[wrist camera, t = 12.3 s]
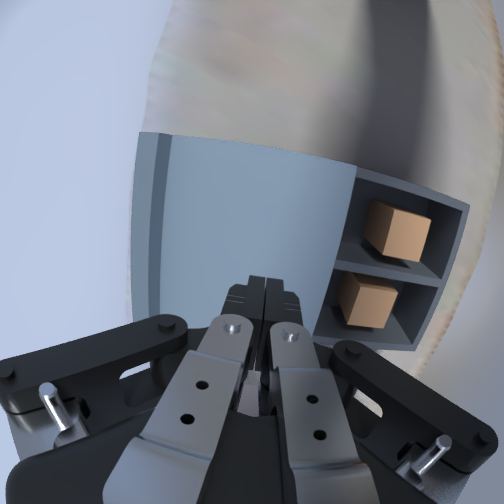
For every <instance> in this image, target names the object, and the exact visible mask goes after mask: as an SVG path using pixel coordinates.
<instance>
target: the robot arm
mask: <svg viewBox="0 0 504 504" xmlns="http://www.w3.org/2000/svg"><path fill="white" fill-rule="evenodd" d="M265 279H266V277H261V276H254V275H249V279H248V284H247V285H242V284H235V285H233V286H232V287H230V288H229V291H228V293H227V296H226V299H225V302H224V305H223V308H222V311H221V314H220V315H219V316H217V317H215V318H214V319H213V321H212V322H211V324H210V326H209V327H205V328H188V325H187V322H186V321H185V320H184V319H183V318H181V317H179V316H176V315H172V314H159V315H155V316H152V317H149V318H146V319H143V320H140V321H136V322H133V323H130V324H127V325H124V326H120V327H117V328H114V329H111V330H107V331H104V332H101V333H98V334H94V335H91V336H87V337H84V338H80V339H77V340H74V341H70V342H67V343H63V344H60V345H56V346H52V347H49V348H45V349H42V350H38V351H34V352H30V353H27V354H23V355H19V356H16V357H11V358H8V359H4V360H1V361H0V404H1V406H2V408H3V409H4V411H5V412H6V414H7V417H8V421H9V425H10V429H11V433H12V436H13V440H14V443H15V446H16V449H17V453H18V455H19V458H20V462H19V463H18V464H17V465H16V466H15V467H14V468H13V469H12V471H11V472H10V474H9V476H8V479H7V483H6V504H455V502H456V500H457V499H458V497H459V495H460V493H461V492H462V490H463V488H464V486H465V484H466V483H467V481H468V479H469V477H470V475H471V474H472V473H473V472H474V471H475V470H477V469H478V468H479V467H480V466H481V465H482V464H483V463H484V462H485V461H486V460H488V459H489V458H490V457H491V456H492V455H493V454H494V453H495V452H496V450H497V448H498V437H497V435H496V433H495V431H494V430H493V429H492V428H491V427H490V426H489V425H487V424H485V423H484V422H482V421H481V420H479V419H477V418H476V417H474V416H472V415H471V414H470V413H468V412H466V411H465V410H463V409H462V408H460V407H459V406H457V405H455V404H454V403H452V402H450V401H449V400H447V399H446V398H444V397H443V396H441V395H440V394H438V393H437V392H435V391H433V390H432V389H430V388H429V387H427V386H426V385H424V384H423V383H421V382H420V381H418V380H417V379H415V378H414V377H412V376H411V375H409V374H407V373H406V372H404V371H403V370H401V369H400V368H398V367H397V366H395V365H394V364H392V363H391V362H389V361H388V360H386V359H385V358H383V357H382V356H380V355H379V354H377V353H376V352H374V351H373V350H371V349H370V348H368V347H367V346H365V345H363V344H362V343H360V342H357V341H353V340H341V341H338V342H337V343H336V344H335V345H334V347H333V349H332V348H328V347H325V346H322V345H319V344H317V343H315V342H313V341H312V338H311V334H310V332H309V331H308V330H307V329H306V328H305V327H304V326H303V319H302V313H301V306H300V300H299V297H298V296H297V295H296V294H295V293H294V292H290V291H284V282H283V280H282V279H275V278H268V277H267V280H266V285H265ZM256 351H257V354H256ZM255 357H256V363H255V371H261V376H260V381H259V385H258V402H259V417H251V416H248V415H245V414H242V413H239V412H237V409H238V405H239V402H240V398H241V394H242V390H243V386H244V381H245V379H246V378H247V375H248V370H253V367H254V362H255ZM149 361H150V368H148V369H146V370H143V371H140V372H138V373H135V374H133V375H130V376H128V377H125V378H123V379H120V380H119V378H120V376H121V375H122V373H123V372H124V371H126V370H128V369H131V368H134V367H136V366H139V365H141V364H144V363H147V362H149ZM357 389H359V390H360V391H361V392H363V393H364V394H365V395H367V396H368V397H369V398H371V399H372V400H373V401H375V402H376V403H377V404H378V405H379V406H380V407H381V408H382V411H383V415H382V417H379V416H378V415H376V414H375V413H374V412H372V411H371V410H370V409H368V408H367V407H366V406H364V405H363V404H362V403H361V402H359V401H358V400H357V399H355V398H354V395H355V393H356V391H357ZM155 407H156V408H155Z"/></svg>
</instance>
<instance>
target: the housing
mask: <svg viewBox="0 0 504 504" xmlns="http://www.w3.org/2000/svg"><path fill="white" fill-rule="evenodd" d="M372 199H375V200H379V201H383V202H387V203H390V204H394V205H398V206H401V207H405V208H407V209H409V210H411V211H413V212H415V213H418V214H420V215H422V216H424V217H426V218H428V219H430V220H431V223H430V226H429V230H428V234H427V237H426V241H425V244H424V247H423V251H422V254H421V257H420V260H419V262H416V261H411V260H406V259H401V258H396V257H391V256H386V255H382V254H381V253H380V252H379V251H378V250H377V249H376V248H375V247H374V246H373V245H372V244H371V243H370V242H369V241H368V240H367V239H366V238H365V237H364V236H363V233H364V229H365V225H366V221H367V217H368V213H369V209H370V204H371V200H372ZM469 208H470V205H469V204H467V203H464V202H462V201H459V200H457V199H454V198H452V197H449V196H447V195H444V194H441V193H439V192H436V191H433V190H430V189H428V188H425V187H422V186H419V185H416V184H413V183H410V182H407V181H404V180H401V179H398V178H395V177H391V176H388V175H385V174H381V173H378V172H375V171H371V170H367V169H364V168H360V167H357V170H356V175H355V180H354V185H353V190H352V194H351V199H350V204H349V208H348V212H347V217H346V221H345V225H344V229H343V233H342V237H341V241H340V245H339V248H338V252H337V256H336V260H335V263H334V267H333V270H332V274H331V277H330V281H329V284H328V288H327V291H326V294H325V297H324V301H323V304H322V307H321V310H320V313H319V316H318V320H317V323H316V326H315V329H314V332H313V334H312V337H311V338H312V341H313V342H315V343H321V344H330V345H335V344H336V343H337V342H338V341H341V340H353V341H357V342H360V343H362V344H363V345H365V346H367V347H368V348H370V349H383V350H399V351H415V350H416V348H417V346H418V344H419V342H420V340H421V339H422V337H423V335H424V333H425V331H426V328H427V326H428V324H429V322H430V320H431V318H432V316H433V314H434V311H435V309H436V307H437V305H438V302H439V300H440V297H441V295H442V293H443V290H444V288H445V285H446V283H447V280H448V277H449V275H450V272H451V269H452V266H453V263H454V260H455V257H456V254H457V251H458V248H459V245H460V242H461V238H462V235H463V231H464V228H465V224H466V220H467V216H468V212H469ZM343 270H345V271H350V272H356V273H361V274H367V275H372V276H378V277H383V278H387V280H388V281H389V282H390V283H391V285H392V286H393V287H394V288H395V290H396V291H397V292H398V294H397V297H396V299H395V302H394V304H393V307H392V309H391V312H390V314H389V316H388V319H387V321H386V323H385V326H384V328H374V327H365V326H356V325H348V324H347V323H346V320H345V317H344V315H343V312H342V309H341V307H340V304H339V302H338V299H337V297H336V293H337V290H338V287H339V283H340V280H341V277H342V273H343Z"/></svg>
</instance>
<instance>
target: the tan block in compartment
mask: <svg viewBox="0 0 504 504" xmlns="http://www.w3.org/2000/svg"><path fill="white" fill-rule="evenodd" d="M397 294H398V292H397V291H396V290H395V288H394V287H393V286H392V285H391V283H390V282H389V281H388V280H387V278H383V277H378V276H372V275H367V274H361V273H356V272H350V271H345V270H343V273H342V277H341V280H340V283H339V287H338V290H337V293H336V297H337V299H338V302H339V304H340V307H341V309H342V312H343V315H344V317H345V320H346V323H347V324H348V325H356V326H365V327H374V328H384V326H385V323H386V321H387V319H388V316H389V314H390V312H391V309H392V307H393V304H394V302H395V299H396V297H397Z"/></svg>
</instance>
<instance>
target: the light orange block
mask: <svg viewBox="0 0 504 504" xmlns="http://www.w3.org/2000/svg"><path fill="white" fill-rule="evenodd" d="M430 223H431V220H430V219H428V218H426V217H424V216H422V215H420V214H418V213H415V212H413V211H411V210H409V209H407V208H405V207H401V206H398V205H394V204H390V203H387V202H383V201H379V200H375V199H372V200H371V204H370V209H369V213H368V217H367V221H366V225H365V229H364V233H363V236H364V237H365V238H366V239H367V240H368V241H369V242H370V243H371V244H372V245H373V246H374V247H375V248H376V249H377V250H378V251H379V252H380V253H381V254H382V255H386V256H391V257H396V258H401V259H406V260H411V261H416V262H419V260H420V257H421V254H422V251H423V247H424V244H425V241H426V237H427V234H428V230H429V226H430Z"/></svg>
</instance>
